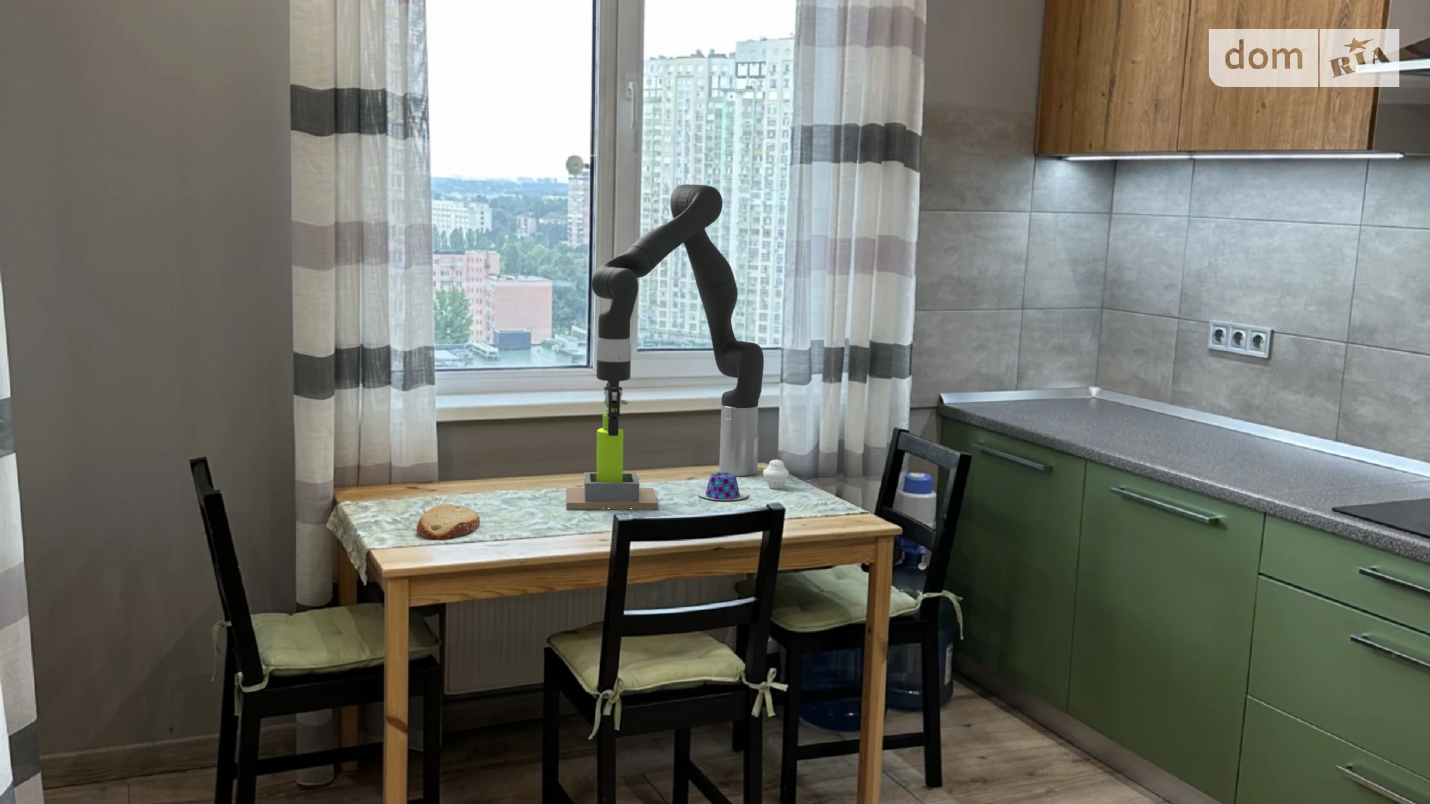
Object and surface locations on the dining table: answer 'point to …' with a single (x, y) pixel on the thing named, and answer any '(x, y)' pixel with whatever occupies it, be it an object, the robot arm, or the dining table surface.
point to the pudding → (722, 487)
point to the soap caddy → (611, 494)
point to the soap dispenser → (609, 453)
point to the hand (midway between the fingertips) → (612, 432)
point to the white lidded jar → (776, 474)
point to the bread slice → (447, 522)
